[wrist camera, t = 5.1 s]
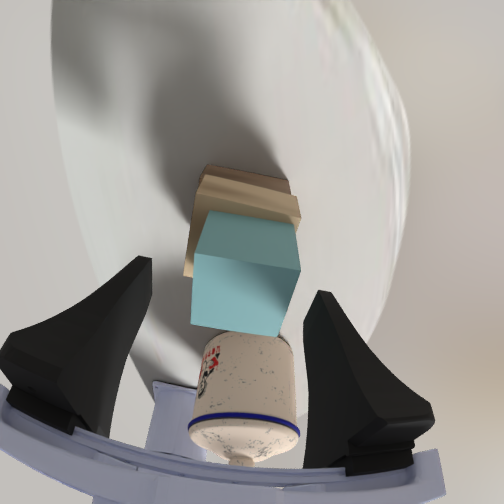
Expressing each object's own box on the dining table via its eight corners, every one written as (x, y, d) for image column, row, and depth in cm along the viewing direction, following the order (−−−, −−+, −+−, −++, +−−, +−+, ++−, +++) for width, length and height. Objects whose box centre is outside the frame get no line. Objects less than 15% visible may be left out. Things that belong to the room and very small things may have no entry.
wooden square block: (269, 245, 21) (270, 267, 19) (198, 232, 20) (190, 252, 18) (288, 179, 18) (291, 195, 16) (207, 163, 18) (199, 177, 15)
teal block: (275, 287, 16) (277, 337, 13) (202, 275, 16) (190, 324, 13) (293, 224, 14) (300, 270, 11) (209, 210, 14) (194, 253, 11)
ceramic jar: (199, 320, 25) (173, 448, 16) (304, 329, 25) (314, 457, 16) (204, 387, 32) (191, 479, 22) (282, 393, 32) (283, 486, 22)
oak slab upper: (271, 267, 19) (271, 294, 17) (192, 249, 18) (183, 275, 16) (296, 196, 16) (301, 218, 14) (205, 174, 15) (195, 192, 13)
